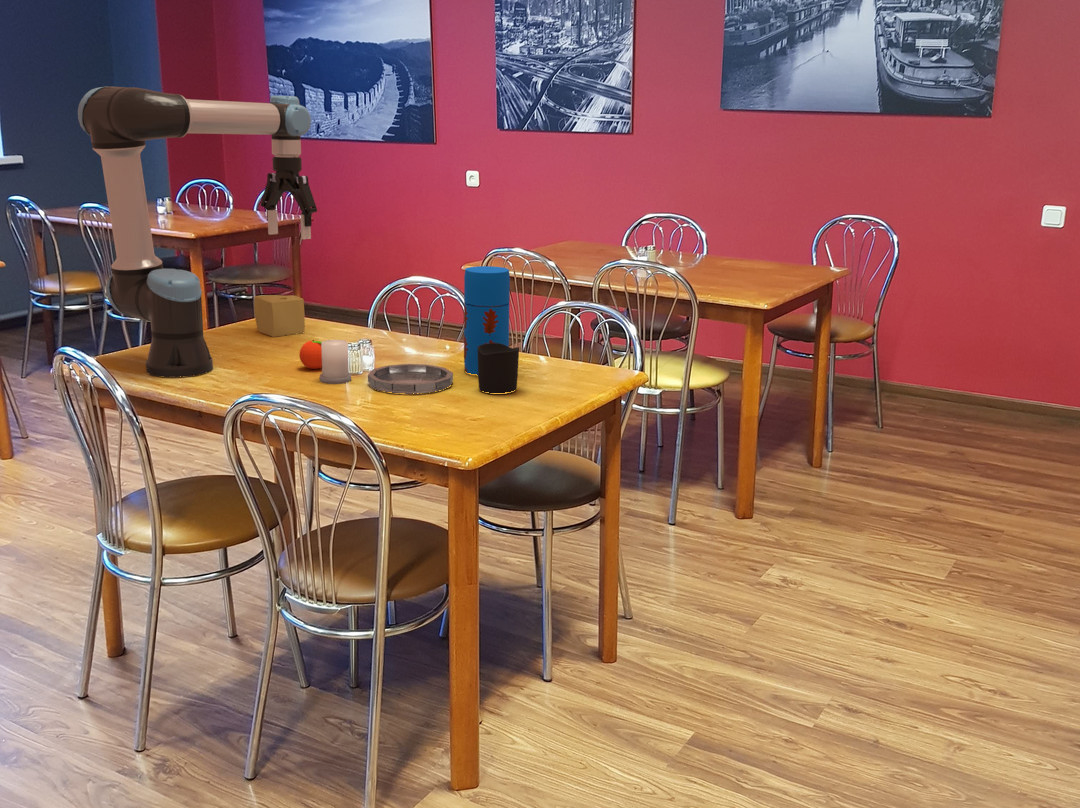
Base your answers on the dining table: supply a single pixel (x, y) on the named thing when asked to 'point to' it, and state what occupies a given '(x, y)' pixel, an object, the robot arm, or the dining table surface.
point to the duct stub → (335, 362)
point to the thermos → (485, 310)
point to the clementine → (311, 354)
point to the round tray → (410, 378)
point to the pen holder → (497, 368)
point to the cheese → (279, 314)
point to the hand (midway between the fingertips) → (289, 236)
